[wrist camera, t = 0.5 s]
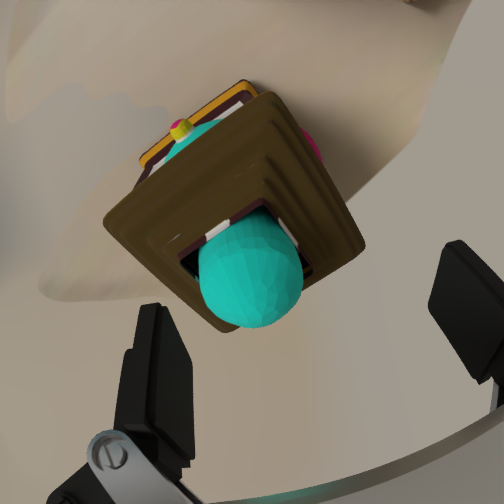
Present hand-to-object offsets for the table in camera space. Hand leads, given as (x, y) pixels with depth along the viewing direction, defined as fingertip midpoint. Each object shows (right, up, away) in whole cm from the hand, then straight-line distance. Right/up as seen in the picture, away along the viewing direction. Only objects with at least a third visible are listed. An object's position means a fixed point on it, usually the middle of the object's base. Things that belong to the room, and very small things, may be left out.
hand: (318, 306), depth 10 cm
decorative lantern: (-5, +14, +33) cm, 37 cm away
